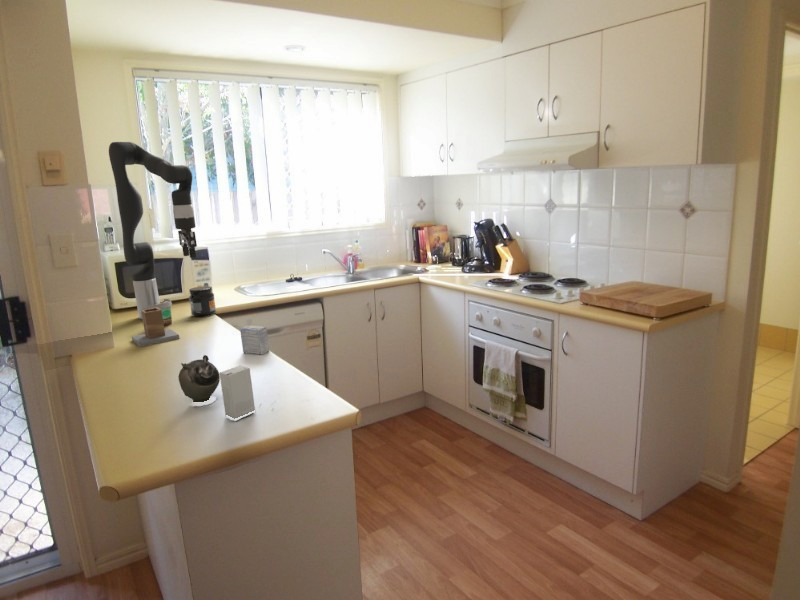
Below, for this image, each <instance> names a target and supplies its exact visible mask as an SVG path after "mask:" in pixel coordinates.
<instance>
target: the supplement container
mask: <svg viewBox="0 0 800 600" xmlns="http://www.w3.org/2000/svg"><path fill="white" fill-rule="evenodd" d="M188 292H189V296H188V300H189V305H190V312H191V313H190V314H191V316H193V317H195V318H204V317H209V316H213V315H215V314H216V312H217V309H216V301H215V294H214V293H213V287H212V286H210V285H203V286H196V287H191V288H189V291H188Z"/></svg>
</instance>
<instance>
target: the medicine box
mask: <svg viewBox="0 0 800 600" xmlns="http://www.w3.org/2000/svg"><path fill="white" fill-rule="evenodd" d="M239 329H240V330H239V331H240V338H241V346H242V352H247V353H246V354H250V353H257V354H256V355H259V354H262V355H264V354H266V353H268V352H270V344H269V336H268V329H267V327H266V326H260V325H245V326H243V327H242V328H239ZM267 351H268V352H267Z"/></svg>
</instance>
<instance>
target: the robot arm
mask: <svg viewBox="0 0 800 600" xmlns="http://www.w3.org/2000/svg"><path fill="white" fill-rule="evenodd" d="M108 156H109V161H110V166H111V171H112V174H113V179H114V183H115V190H116V196H117V198H116V199H117V205H118V211H119V216H120V217H119V218H120V222H121V230H122V245H123V255H124V259H125V262H126V264H127V265H128V266H139V265H142V267H141V268H140V269H139V270H137V271H136V272H133V274H132V276H131V277H132V285H133V290H134V296H135V301H136V307H137V308H136V309H137V314H138V319H139V320H143V318H142V312H141V310H145V309H147V305H154V304H156V303H160V302H161V301H160V296H159V291H158V290H159V289H158V284H157V278H156V268H155V257H154V251H153V247H152V245H151V244H150V243H149V242H147V241H146V242H145V241H144V242H136V243H135V240H134V239H135V232H136V229H137V228H138V225H139V223H140V222H141V219H142V218H143V216H144V207H143V200H142V195H141V193H140V192H139V191H138V189H137V187H136V186H135V185H134V183H133V182H132V181H131V180H130V178H129V174H128V172H127V168H126V166H128V165H129V166H133V165H139V166H140V165H141V166H144V168H145V169H146V171H147V172H149V173H151V174H153V175H155V176H158V177H160V178H161V179H162V180H163V181H165V182H166V183H168V184H174V185H175V184H178V188H177V189H175V190H173V191H171V201H172V209H173V213H172V214H173V220H174V226H175V229H176V230H178V231H177V233H178V234H177V235H178V241H179V246H181V247H182V253H183V254H182V255H183V256H184V257H190V258H191V259H195V258H197V254H196V248H197V247H198V245H197V244H198V243H197V237H196V232H195V231H192V229H195V228H196V220H195V213H194V212H195V211H194V207H193V204H192V196H191V192H192V184H193V172H192V170H191V168H190V167H189V166H187V165H186V164H173V163H171V162H170V160H169V161H168V160H166V159H164V158H162V157H159V156H157V155H154V154H152V153H151V152H149V151H147V150H146V149H144V148H142V147H141V146H140V145H138V144H136V143H135V142H131V141H112V142H110V144H109V146H108Z"/></svg>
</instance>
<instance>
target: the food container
mask: <svg viewBox="0 0 800 600" xmlns="http://www.w3.org/2000/svg"><path fill="white" fill-rule="evenodd" d="M159 302H160V303H156V304H154V305H147V309H151V308H157V307H158V308H159V309H161V311H162V317H163V323H164V328H166V327H168V326H171V325H172V323H173V321H172V319H173V318H172V306H173V303H172V301H171V300H170V298H164V299H163V301H159Z"/></svg>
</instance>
